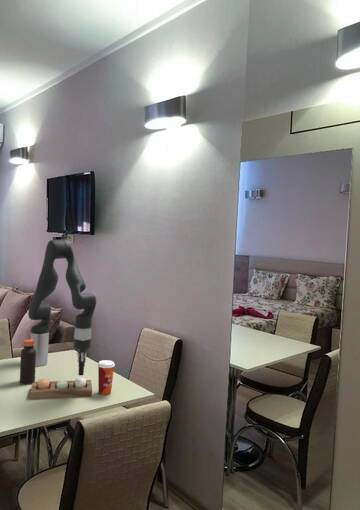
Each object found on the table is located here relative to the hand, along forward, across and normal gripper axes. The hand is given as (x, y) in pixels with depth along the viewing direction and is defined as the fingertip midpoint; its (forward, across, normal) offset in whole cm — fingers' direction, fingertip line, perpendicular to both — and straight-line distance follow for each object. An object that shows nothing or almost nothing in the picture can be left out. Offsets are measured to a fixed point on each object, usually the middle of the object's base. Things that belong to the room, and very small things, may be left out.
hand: (80, 374), depth 185 cm
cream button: (+6, 0, 0) cm, 6 cm away
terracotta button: (+6, 0, -16) cm, 17 cm away
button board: (+8, 0, -8) cm, 11 cm away
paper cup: (+8, +2, +11) cm, 14 cm away
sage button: (+8, 0, -8) cm, 11 cm away
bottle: (+8, -14, -24) cm, 29 cm away
